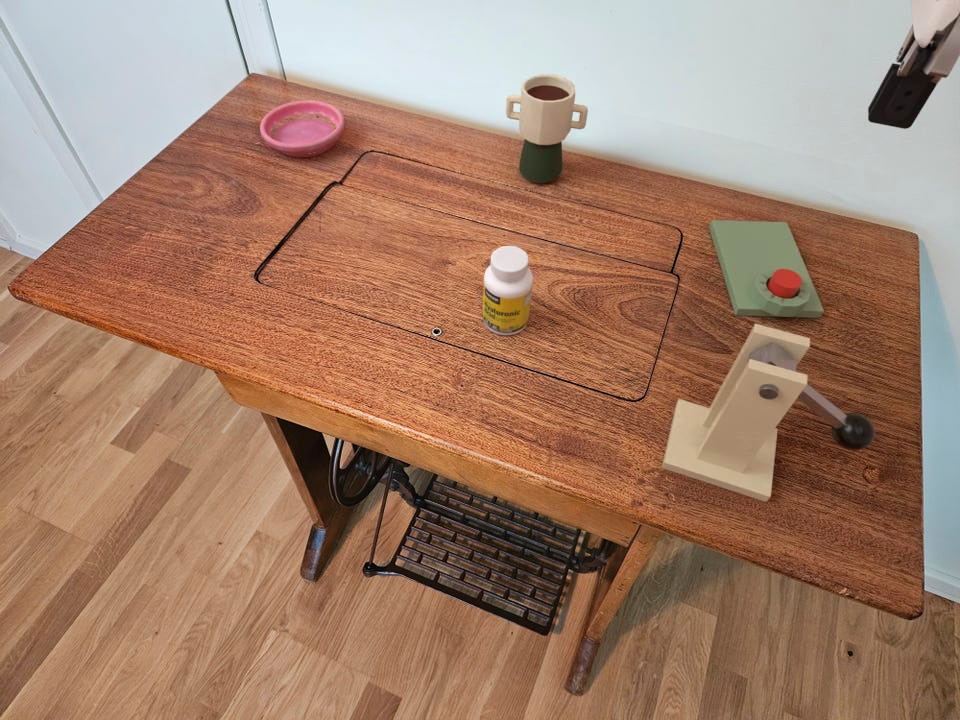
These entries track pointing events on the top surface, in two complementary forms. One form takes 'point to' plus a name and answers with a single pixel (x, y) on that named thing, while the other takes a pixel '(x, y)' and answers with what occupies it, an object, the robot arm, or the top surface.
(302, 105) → the saucer
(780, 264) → the button box
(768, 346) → the lever
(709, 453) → the switch bracket
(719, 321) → the top surface
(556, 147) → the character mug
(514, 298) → the supplement bottle
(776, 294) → the button
